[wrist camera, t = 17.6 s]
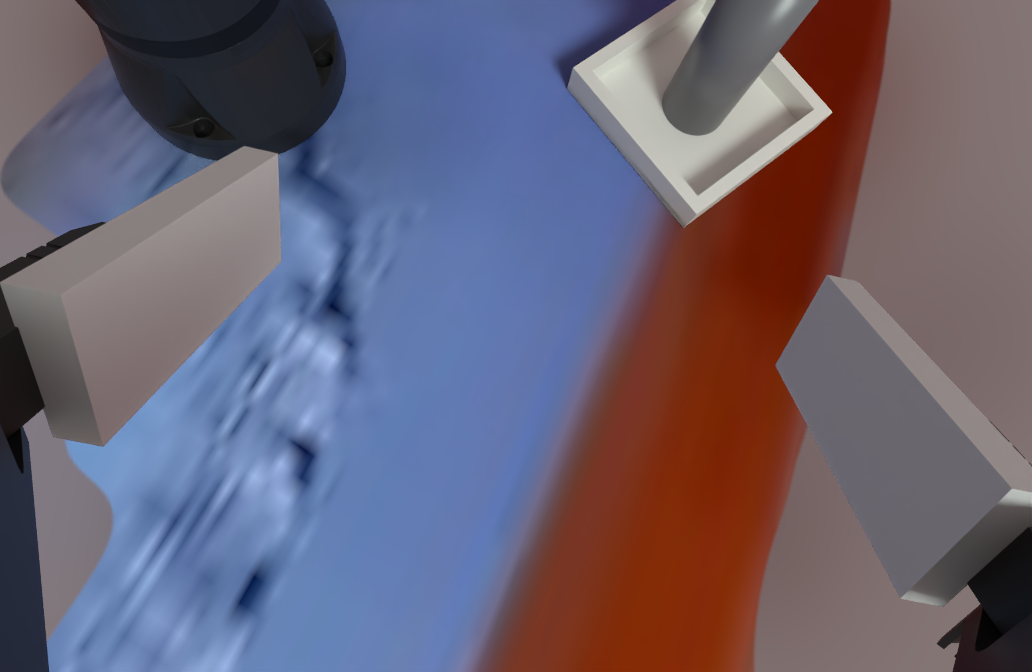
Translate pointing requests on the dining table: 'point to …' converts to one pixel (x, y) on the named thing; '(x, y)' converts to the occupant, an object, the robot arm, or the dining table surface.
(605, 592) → the dining table surface
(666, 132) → the tray
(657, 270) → the dining table surface
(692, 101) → the charcoal cell
